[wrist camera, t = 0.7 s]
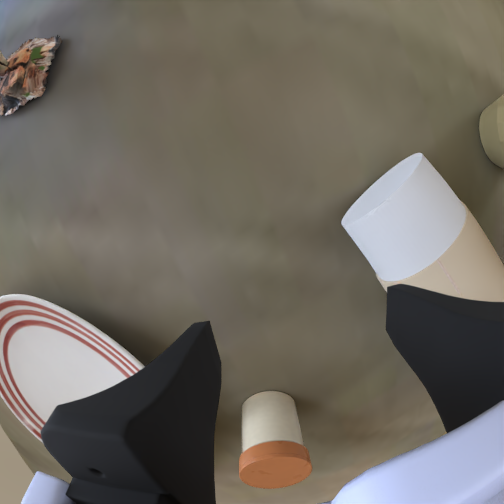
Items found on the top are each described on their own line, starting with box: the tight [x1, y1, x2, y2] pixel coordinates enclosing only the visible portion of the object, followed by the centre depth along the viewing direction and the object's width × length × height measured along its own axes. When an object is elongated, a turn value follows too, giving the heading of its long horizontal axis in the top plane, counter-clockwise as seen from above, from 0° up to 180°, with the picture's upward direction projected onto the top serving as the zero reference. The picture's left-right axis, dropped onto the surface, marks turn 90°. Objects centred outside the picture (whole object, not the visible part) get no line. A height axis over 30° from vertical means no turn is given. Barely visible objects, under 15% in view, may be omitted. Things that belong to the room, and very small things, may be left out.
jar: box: [241, 391, 305, 453], centre depth 21 cm, size 5×5×7 cm
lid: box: [239, 441, 312, 489], centre depth 18 cm, size 6×6×2 cm
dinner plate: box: [0, 294, 145, 443], centre depth 22 cm, size 27×27×3 cm
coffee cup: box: [341, 153, 504, 302], centre depth 16 cm, size 9×9×15 cm
